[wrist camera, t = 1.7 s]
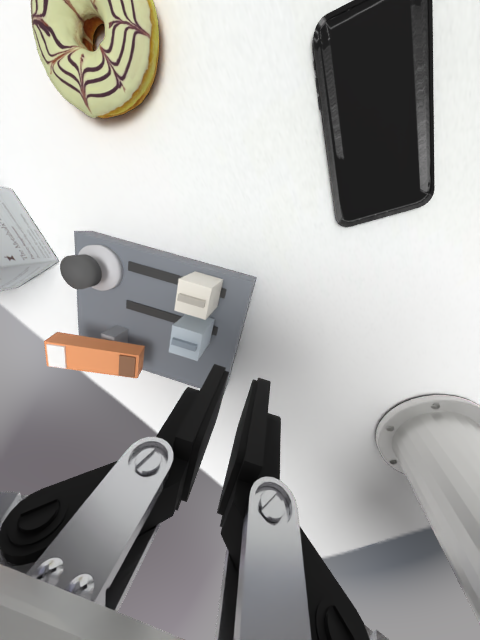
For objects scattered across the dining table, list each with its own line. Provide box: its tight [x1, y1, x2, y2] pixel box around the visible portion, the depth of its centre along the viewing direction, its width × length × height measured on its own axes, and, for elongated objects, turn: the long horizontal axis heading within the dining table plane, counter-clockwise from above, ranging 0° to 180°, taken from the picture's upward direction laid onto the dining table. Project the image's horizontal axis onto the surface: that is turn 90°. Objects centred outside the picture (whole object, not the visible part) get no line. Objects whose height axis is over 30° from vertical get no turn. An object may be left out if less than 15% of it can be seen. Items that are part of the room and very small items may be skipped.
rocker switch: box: [44, 332, 145, 378], centre depth 25 cm, size 9×3×2 cm, turn 76°
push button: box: [60, 254, 102, 289], centre depth 23 cm, size 3×3×2 cm
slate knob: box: [169, 314, 215, 361], centre depth 24 cm, size 3×3×4 cm
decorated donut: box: [31, 0, 159, 118], centre depth 19 cm, size 10×11×4 cm
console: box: [74, 231, 256, 395], centre depth 27 cm, size 20×15×5 cm
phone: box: [313, 0, 434, 227], centre depth 19 cm, size 8×1×15 cm
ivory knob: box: [174, 271, 223, 320], centre depth 22 cm, size 3×3×4 cm
